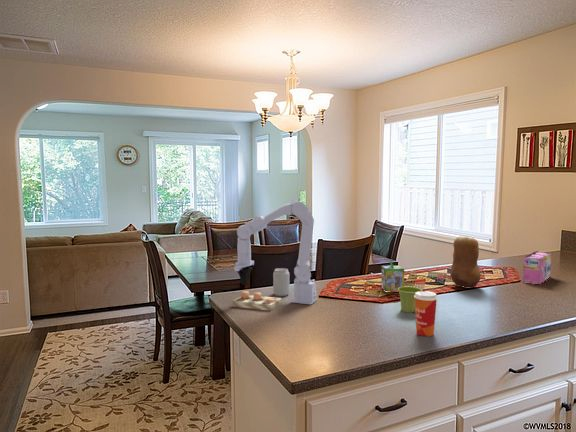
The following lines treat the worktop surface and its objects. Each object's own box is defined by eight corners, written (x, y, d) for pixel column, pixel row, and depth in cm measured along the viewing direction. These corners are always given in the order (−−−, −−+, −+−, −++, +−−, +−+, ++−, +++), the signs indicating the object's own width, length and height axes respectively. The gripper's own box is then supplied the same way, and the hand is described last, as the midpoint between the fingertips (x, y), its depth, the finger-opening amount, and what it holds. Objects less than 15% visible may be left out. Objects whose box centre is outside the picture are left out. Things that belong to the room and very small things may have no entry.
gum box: (535, 275, 233) (536, 250, 231) (551, 277, 227) (552, 252, 226) (522, 283, 215) (523, 256, 214) (539, 285, 210) (540, 258, 209)
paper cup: (409, 330, 149) (410, 290, 148) (431, 329, 149) (431, 290, 148) (418, 338, 141) (419, 297, 140) (440, 337, 142) (441, 296, 140)
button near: (275, 305, 179) (275, 298, 179) (272, 307, 176) (272, 300, 176) (268, 304, 180) (268, 298, 180) (264, 306, 177) (264, 300, 177)
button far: (250, 297, 183) (250, 291, 183) (246, 299, 180) (246, 293, 180) (243, 297, 185) (243, 290, 184) (239, 299, 182) (239, 292, 181)
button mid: (262, 299, 181) (262, 292, 181) (259, 301, 178) (259, 294, 178) (255, 298, 182) (255, 292, 182) (252, 300, 179) (252, 294, 179)
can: (287, 297, 192) (287, 271, 191) (271, 296, 194) (271, 270, 193) (290, 292, 200) (290, 267, 199) (275, 292, 201) (275, 267, 200)
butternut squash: (482, 286, 209) (483, 235, 207) (477, 292, 198) (479, 239, 196) (452, 282, 217) (453, 234, 215) (446, 288, 206) (448, 237, 204)
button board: (282, 303, 182) (281, 297, 182) (271, 310, 172) (271, 304, 172) (244, 299, 189) (244, 293, 189) (232, 306, 179) (232, 300, 179)
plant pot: (421, 308, 174) (422, 287, 173) (421, 315, 165) (421, 293, 164) (398, 306, 177) (398, 285, 176) (396, 312, 168) (396, 291, 168)
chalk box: (404, 293, 197) (405, 261, 196) (384, 293, 198) (385, 262, 196) (399, 288, 207) (400, 258, 205) (380, 288, 207) (381, 258, 206)
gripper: (244, 250, 189) (244, 280, 190) (227, 255, 176) (228, 287, 177) (258, 251, 186) (258, 281, 188) (242, 256, 173) (243, 289, 174)
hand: (244, 284), depth 182 cm, fingers closed
